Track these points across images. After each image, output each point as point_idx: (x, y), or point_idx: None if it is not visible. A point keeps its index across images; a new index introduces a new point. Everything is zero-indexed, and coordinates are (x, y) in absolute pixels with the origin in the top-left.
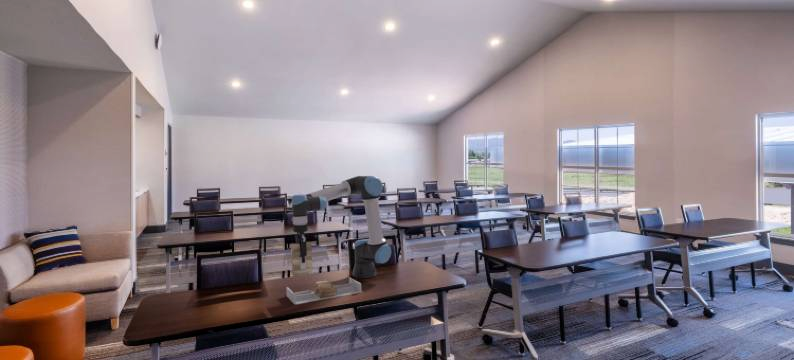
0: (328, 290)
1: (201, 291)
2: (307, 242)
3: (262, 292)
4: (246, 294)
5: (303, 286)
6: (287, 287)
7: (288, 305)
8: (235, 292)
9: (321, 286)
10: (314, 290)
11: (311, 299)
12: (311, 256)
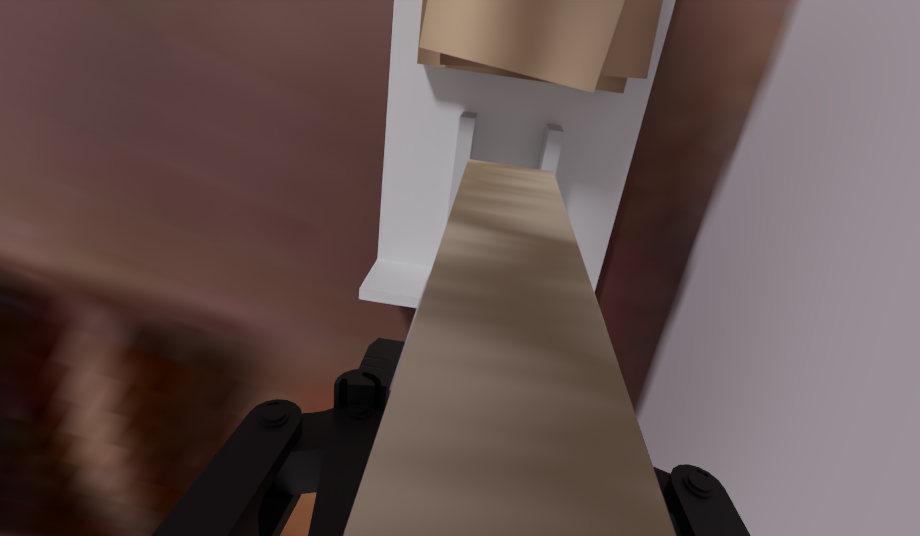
0: (659, 8)
1: (4, 521)
2: None
3: (157, 323)
4: (156, 399)
5: (131, 21)
6: (367, 294)
7: None
8: (89, 425)
9: (601, 66)
10: (440, 66)
11: (581, 164)
12: (587, 280)
